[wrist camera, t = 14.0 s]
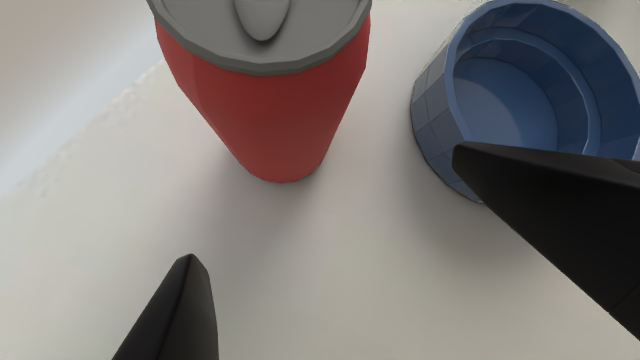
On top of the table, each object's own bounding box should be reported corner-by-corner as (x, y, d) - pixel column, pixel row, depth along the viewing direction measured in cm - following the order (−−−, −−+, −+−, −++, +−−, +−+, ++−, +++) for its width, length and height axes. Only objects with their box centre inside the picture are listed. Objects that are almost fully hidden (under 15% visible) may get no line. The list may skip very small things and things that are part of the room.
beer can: (231, 184, 17) (87, 83, 5) (235, 93, 18) (128, -162, 6) (329, 184, 17) (406, 96, 6) (326, 97, 19) (386, -125, 7)
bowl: (498, 247, 18) (566, 254, 14) (373, 103, 19) (398, 66, 15) (602, 136, 21) (686, 112, 16) (488, 16, 22) (537, -38, 17)
